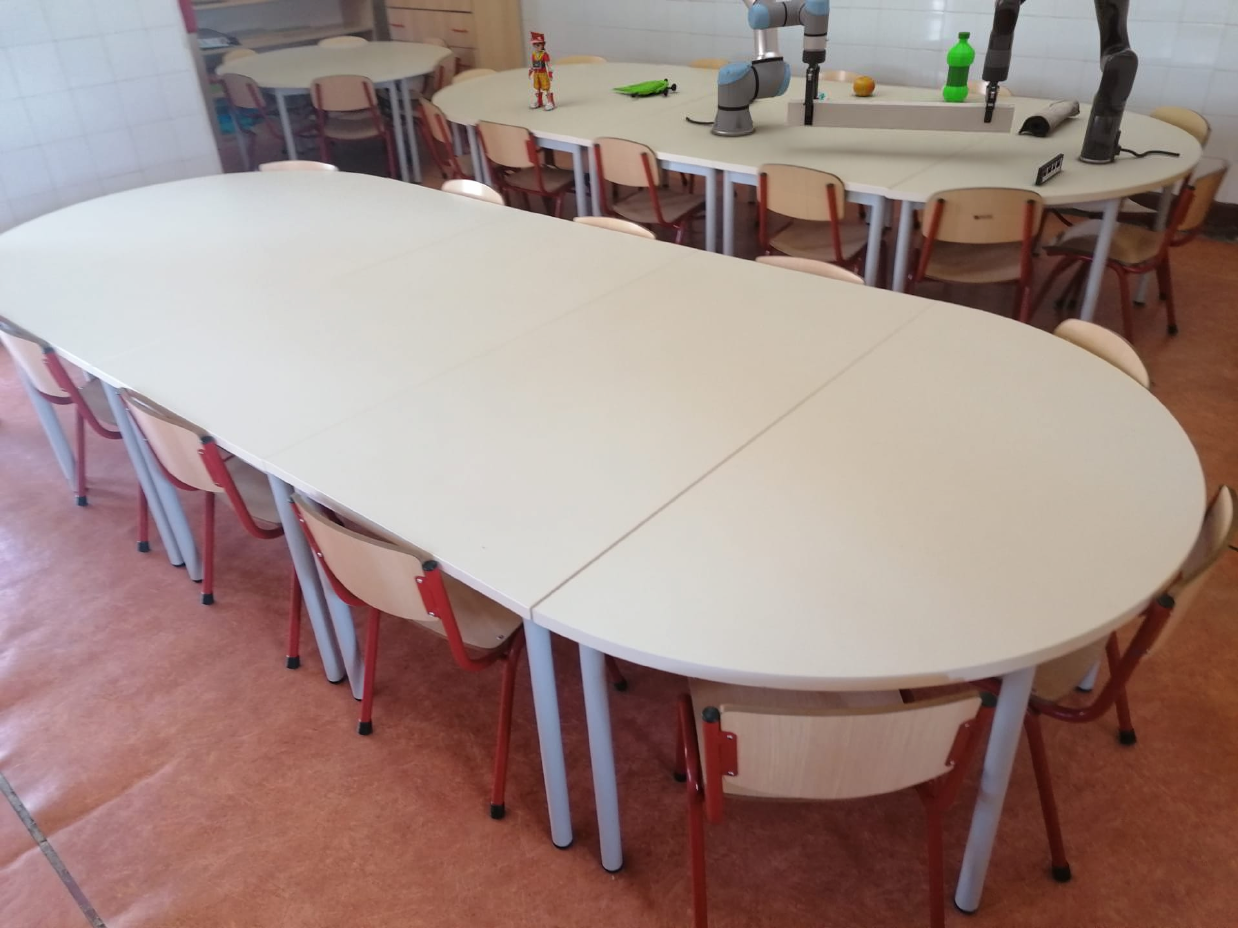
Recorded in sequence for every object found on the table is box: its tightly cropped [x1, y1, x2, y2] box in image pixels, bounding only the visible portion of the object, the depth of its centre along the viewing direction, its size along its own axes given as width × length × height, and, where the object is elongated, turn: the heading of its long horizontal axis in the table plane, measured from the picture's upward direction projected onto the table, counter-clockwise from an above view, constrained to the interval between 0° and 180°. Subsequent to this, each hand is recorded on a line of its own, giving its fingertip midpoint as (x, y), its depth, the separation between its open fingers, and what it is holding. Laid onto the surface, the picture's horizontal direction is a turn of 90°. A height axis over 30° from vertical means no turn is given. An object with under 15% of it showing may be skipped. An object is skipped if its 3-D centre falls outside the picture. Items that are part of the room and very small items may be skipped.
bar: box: [786, 98, 1016, 134], centre depth 296 cm, size 71×5×8 cm, turn 71°
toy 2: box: [612, 78, 677, 99], centre depth 396 cm, size 28×5×30 cm
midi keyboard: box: [1035, 153, 1065, 186], centre depth 273 cm, size 18×1×5 cm, turn 138°
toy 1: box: [527, 31, 556, 111], centre depth 374 cm, size 12×9×30 cm
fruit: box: [852, 76, 876, 97], centre depth 369 cm, size 8×8×8 cm
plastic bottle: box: [942, 31, 976, 103], centre depth 348 cm, size 10×10×25 cm
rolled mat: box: [1018, 99, 1081, 137], centre depth 319 cm, size 30×9×10 cm
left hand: (809, 122), depth 306 cm, fingers closed on bar, 5 cm apart
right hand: (987, 120), depth 289 cm, fingers closed on bar, 4 cm apart
